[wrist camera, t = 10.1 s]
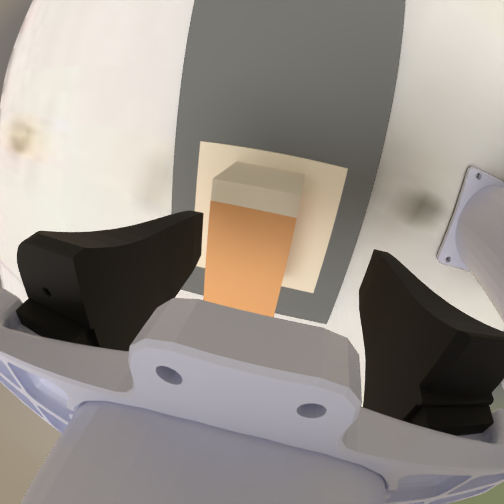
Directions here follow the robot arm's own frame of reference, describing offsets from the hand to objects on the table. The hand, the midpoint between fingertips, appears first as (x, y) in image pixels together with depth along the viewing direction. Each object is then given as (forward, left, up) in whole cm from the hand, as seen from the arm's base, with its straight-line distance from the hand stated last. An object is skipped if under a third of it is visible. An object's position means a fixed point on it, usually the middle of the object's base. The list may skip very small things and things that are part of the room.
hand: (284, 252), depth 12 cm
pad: (+2, +3, -9) cm, 10 cm away
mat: (+2, -5, -9) cm, 11 cm away
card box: (+2, +3, -9) cm, 9 cm away
